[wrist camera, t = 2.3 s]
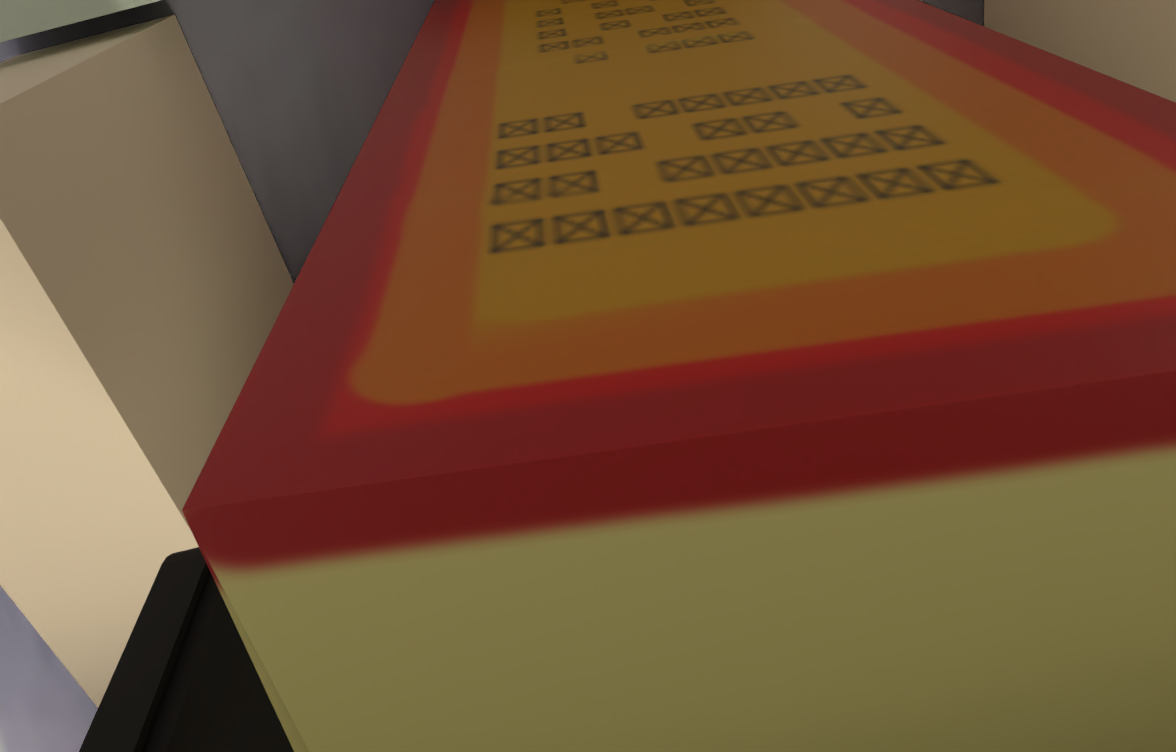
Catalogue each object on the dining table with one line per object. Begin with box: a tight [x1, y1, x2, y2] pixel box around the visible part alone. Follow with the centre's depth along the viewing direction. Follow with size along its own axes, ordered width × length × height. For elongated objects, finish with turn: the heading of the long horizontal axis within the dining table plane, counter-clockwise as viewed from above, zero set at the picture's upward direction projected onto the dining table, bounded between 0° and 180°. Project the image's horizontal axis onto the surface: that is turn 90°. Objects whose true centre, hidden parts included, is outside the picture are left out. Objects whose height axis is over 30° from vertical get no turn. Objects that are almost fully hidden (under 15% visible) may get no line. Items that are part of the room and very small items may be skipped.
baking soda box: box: [182, 0, 1176, 752], centre depth 13 cm, size 10×6×16 cm
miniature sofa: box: [0, 0, 1176, 708], centre depth 15 cm, size 22×14×12 cm, turn 103°
